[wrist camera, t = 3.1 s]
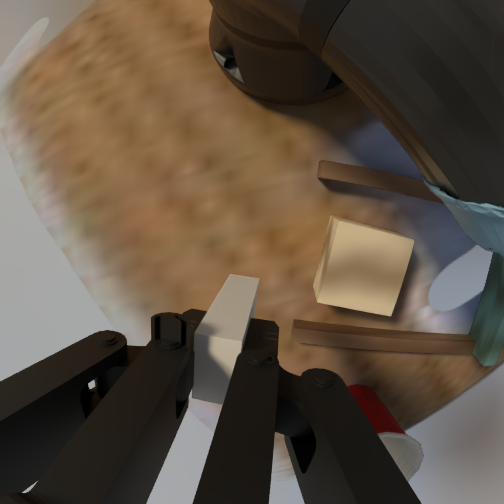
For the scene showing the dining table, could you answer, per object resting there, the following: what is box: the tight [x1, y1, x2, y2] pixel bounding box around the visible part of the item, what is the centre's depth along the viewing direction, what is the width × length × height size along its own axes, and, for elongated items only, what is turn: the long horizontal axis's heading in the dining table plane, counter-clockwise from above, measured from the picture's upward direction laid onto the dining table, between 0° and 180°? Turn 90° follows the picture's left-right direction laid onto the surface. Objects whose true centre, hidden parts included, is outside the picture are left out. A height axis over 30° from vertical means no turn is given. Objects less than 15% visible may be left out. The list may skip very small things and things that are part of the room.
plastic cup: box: [347, 385, 424, 481], centre depth 26 cm, size 11×11×12 cm
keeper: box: [313, 216, 415, 316], centre depth 26 cm, size 7×7×4 cm
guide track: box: [291, 160, 504, 366], centre depth 25 cm, size 17×24×5 cm
